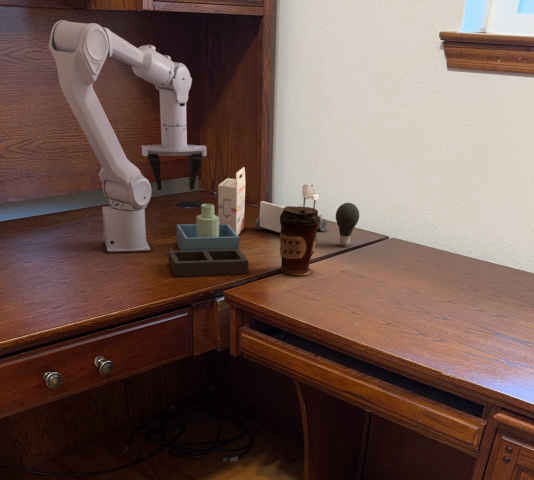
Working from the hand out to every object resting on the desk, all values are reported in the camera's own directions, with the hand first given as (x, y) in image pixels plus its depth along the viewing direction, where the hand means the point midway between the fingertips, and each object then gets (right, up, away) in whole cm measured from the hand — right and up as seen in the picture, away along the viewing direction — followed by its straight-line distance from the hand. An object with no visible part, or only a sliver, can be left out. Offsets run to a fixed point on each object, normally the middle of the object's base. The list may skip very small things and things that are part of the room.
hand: (175, 189), depth 157 cm
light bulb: (+40, -12, +6) cm, 42 cm away
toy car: (+28, -4, +15) cm, 33 cm away
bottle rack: (+9, -23, -14) cm, 28 cm away
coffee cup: (+28, -23, -12) cm, 38 cm away
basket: (+8, -16, -3) cm, 18 cm away
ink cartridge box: (+12, -7, +10) cm, 17 cm away
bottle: (+8, -15, -4) cm, 18 cm away
